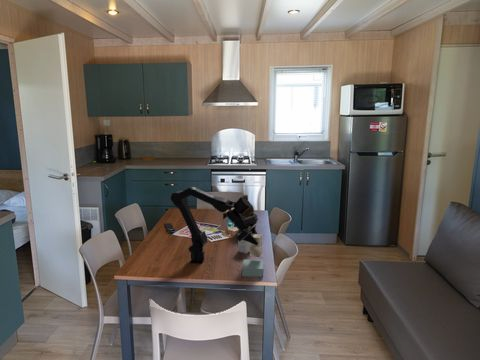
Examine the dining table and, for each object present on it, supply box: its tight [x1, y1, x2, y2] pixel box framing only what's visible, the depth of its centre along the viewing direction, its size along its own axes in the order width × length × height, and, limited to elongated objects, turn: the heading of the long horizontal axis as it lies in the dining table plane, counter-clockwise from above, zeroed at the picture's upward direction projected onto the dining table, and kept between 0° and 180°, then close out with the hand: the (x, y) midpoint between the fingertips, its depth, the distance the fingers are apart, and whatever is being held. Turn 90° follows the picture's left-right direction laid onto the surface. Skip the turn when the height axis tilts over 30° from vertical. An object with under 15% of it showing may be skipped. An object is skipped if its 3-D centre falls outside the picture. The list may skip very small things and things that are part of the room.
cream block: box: [249, 233, 263, 258], centre depth 170 cm, size 5×5×10 cm
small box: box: [237, 240, 250, 254], centre depth 193 cm, size 8×6×10 cm
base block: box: [241, 259, 264, 278], centre depth 167 cm, size 10×10×4 cm
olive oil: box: [237, 194, 255, 233], centre depth 221 cm, size 11×11×25 cm
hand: (258, 242), depth 169 cm, fingers closed on cream block, 5 cm apart
